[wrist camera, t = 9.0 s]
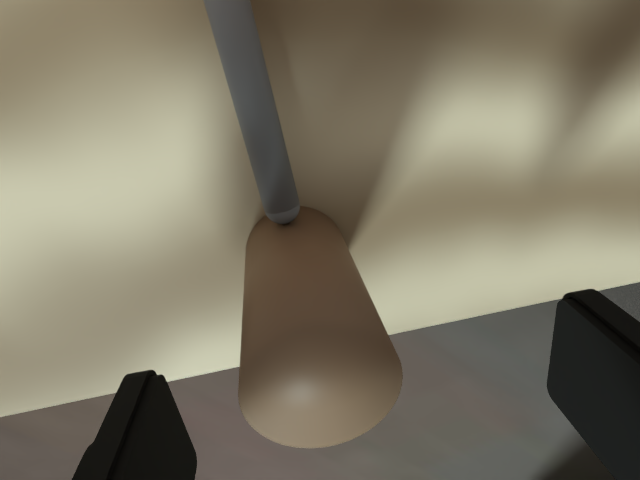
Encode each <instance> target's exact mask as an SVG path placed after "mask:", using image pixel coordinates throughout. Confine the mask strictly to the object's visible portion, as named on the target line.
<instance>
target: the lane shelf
mask: <svg viewBox="0 0 640 480" xmlns="http://www.w3.org/2000/svg"><path fill="white" fill-rule="evenodd" d="M250 2H251V6H252V10H253V14H254V18H255V23H256V27H257V31H258V35H259V39H260V43H261V47H262V51H263V55H264V59H265V63H266V67H267V71H268V76H269V80H270V84H271V88H272V92H273V96H274V100H275V104H276V108H277V112H278V116H279V120H280V124H281V128H282V133H283V137H284V141H285V145H286V149H287V153H288V157H289V161H290V165H291V169H292V173H293V177H294V181H295V186H296V190H297V194H298V198H299V202H300V206H305V207H310V208H313V209H316V210H318V211H320V212H322V213H324V214H325V215H327V216H328V217H329V218H330V219H332V220H333V222H334V223H335V224H336V225H337V227H338V228H339V230H340V232H341V234H342V237H343V239H344V241H345V243H346V245H347V247H348V250H349V252H350V254H351V256H352V258H353V260H354V262H355V265H356V267H357V269H358V271H359V273H360V275H361V278H362V280H363V282H364V284H365V286H366V288H367V290H368V293H369V295H370V297H371V299H372V301H373V303H374V306H375V308H376V310H377V312H378V314H379V316H380V318H381V321H382V323H383V325H384V327H385V329H386V331H387V334H388V335H391V334H395V333H400V332H405V331H410V330H414V329H419V328H424V327H428V326H433V325H438V324H443V323H447V322H452V321H457V320H462V319H466V318H471V317H476V316H481V315H485V314H490V313H495V312H499V311H504V310H509V309H514V308H518V307H523V306H528V305H533V304H537V303H542V302H547V301H551V300H556V299H561V298H563V296H564V295H565V294H566V293H569V292H575V291H580V290H586V289H595V290H596V291H599V290H604V289H608V288H613V287H618V286H622V285H627V284H632V283H637V282H640V0H250ZM265 216H266V214H265V211H264V208H263V204H262V201H261V197H260V194H259V191H258V187H257V184H256V180H255V177H254V173H253V170H252V166H251V163H250V160H249V156H248V153H247V149H246V146H245V142H244V139H243V135H242V132H241V128H240V125H239V122H238V118H237V115H236V111H235V108H234V104H233V101H232V97H231V94H230V90H229V87H228V84H227V80H226V77H225V73H224V70H223V66H222V63H221V59H220V56H219V52H218V49H217V46H216V42H215V39H214V35H213V32H212V28H211V25H210V21H209V18H208V14H207V11H206V8H205V4H204V1H203V0H0V417H3V416H7V415H12V414H17V413H22V412H26V411H31V410H36V409H41V408H45V407H50V406H55V405H60V404H64V403H69V402H74V401H78V400H83V399H88V398H93V397H97V396H102V395H107V394H112V393H116V392H117V390H118V388H119V386H120V384H121V382H122V380H123V378H124V376H125V375H127V374H130V373H135V372H141V371H146V370H154V371H155V372H156V374H157V375H160V374H161V375H163V376H164V377H165V379H166V381H167V382H168V381H173V380H178V379H183V378H187V377H192V376H197V375H201V374H206V373H211V372H216V371H220V370H225V369H230V368H235V367H239V366H240V350H241V331H242V312H243V293H244V273H245V254H246V244H247V240H248V237H249V235H250V233H251V231H252V229H253V228H254V226H255V225H256V224H257V223H258V222H259V221H260V220H261V219H262V218H263V217H265Z"/></svg>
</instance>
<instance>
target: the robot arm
mask: <svg viewBox="0 0 640 480" xmlns="http://www.w3.org/2000/svg"><path fill="white" fill-rule="evenodd" d="M547 389H548V392H549V395H550V397H551V399H552V400H553V401H554V403H555V404H556V405H557V406H558V408H559V409H560V410H561V411H562V413H563V414H564V415H565V416H566V418H567V419H568V420H569V421H570V423H571V424H572V425H573V426H574V428H575V429H576V430H577V432H578V433H579V434H580V435H581V437H582V438H583V439H584V440H585V442H586V443H587V444H588V445H589V447H590V448H591V449H592V450H593V452H594V453H595V454H596V455H597V457H598V458H599V459H600V460H601V462H602V463H603V464H604V465H605V467H606V468H607V469H608V470H609V472H610V473H611V474H612V475H613V477H614V478H615V479H616V480H640V322H639V321H637V320H636V319H635V318H633V317H632V316H631V315H629V314H628V313H627V312H625V311H624V310H623V309H621V308H620V307H618V306H617V305H616V304H614V303H613V302H612V301H610V300H609V299H608V298H606V297H605V296H604V295H602V294H601V293H600V292H598V291H596V290H595V289H586V290H580V291H575V292H569V293H566V294H565V295H564V296H563V299H562V300H561V301H559V302H558V304H557V309H556V317H555V325H554V332H553V340H552V348H551V356H550V364H549V371H548V379H547ZM196 468H197V457H196V452H195V449H194V447H193V444H192V442H191V440H190V437H189V435H188V432H187V430H186V427H185V425H184V423H183V420H182V418H181V415H180V413H179V410H178V408H177V406H176V403H175V401H174V398H173V396H172V393H171V391H170V389H169V386H168V384H167V381H166V379H165V377H164V376H163V375H161V374H160V375H157V374H156V372H155V371H154V370H146V371H141V372H135V373H130V374H127V375H125V376H124V378H123V380H122V382H121V384H120V386H119V388H118V390H117V393H116V395H115V397H114V399H113V401H112V403H111V406H110V408H109V410H108V412H107V414H106V417H105V419H104V421H103V423H102V425H101V427H100V430H99V432H98V434H97V436H96V438H95V440H94V442H93V443H92V444H91V445H90V446H89V447H88V448H87V450H86V451H85V453H84V455H83V457H82V459H81V461H80V463H79V465H78V468H77V470H76V472H75V474H74V476H73V478H72V480H194V479H195V474H196Z"/></svg>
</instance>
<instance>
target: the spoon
mask: <svg viewBox="0 0 640 480" xmlns="http://www.w3.org/2000/svg"><path fill="white" fill-rule="evenodd" d="M203 1H204V4H205V8H206V11H207V14H208V18H209V21H210V25H211V28H212V32H213V35H214V39H215V42H216V46H217V49H218V52H219V56H220V59H221V63H222V66H223V70H224V73H225V77H226V80H227V84H228V87H229V90H230V94H231V97H232V101H233V104H234V108H235V111H236V115H237V118H238V122H239V125H240V128H241V132H242V135H243V139H244V142H245V146H246V149H247V153H248V156H249V160H250V163H251V166H252V170H253V173H254V177H255V180H256V184H257V187H258V191H259V194H260V197H261V201H262V204H263V208H264V211H265V214H266V216H265V217H263V218H262V219H261V220H260V221H259V222H258V223H257V224H256V225H255V226H254V228H253V229H252V231H251V233H250V235H249V237H248V240H247V244H246V254H245V273H244V293H243V312H242V331H241V350H240V369H239V388H238V398H239V405H240V408H241V411H242V413H243V415H244V417H245V419H246V420H247V422H248V423H249V424H250V426H252V427H253V428H254V429H255V430H256V431H257V432H258V433H260V434H261V435H262V436H264V437H266V438H268V439H269V440H271V441H274V442H276V443H279V444H282V445H286V446H290V447H297V448H321V447H328V446H333V445H337V444H340V443H344V442H347V441H349V440H351V439H354V438H356V437H358V436H360V435H362V434H364V433H365V432H367V431H368V430H370V429H371V428H373V427H374V426H375V425H377V424H378V423H379V422H380V421H381V420H382V419H383V418H384V417H385V416H386V415H387V414H388V413H389V411H390V410H391V409H392V407H393V405H394V404H395V402H396V400H397V398H398V396H399V393H400V390H401V386H402V378H403V375H402V367H401V363H400V360H399V357H398V355H397V353H396V351H395V349H394V346H393V344H392V342H391V340H390V338H389V336H388V334H387V331H386V329H385V327H384V325H383V323H382V321H381V318H380V316H379V314H378V312H377V310H376V308H375V306H374V303H373V301H372V299H371V297H370V295H369V293H368V290H367V288H366V286H365V284H364V282H363V280H362V278H361V275H360V273H359V271H358V269H357V267H356V265H355V262H354V260H353V258H352V256H351V254H350V252H349V250H348V247H347V245H346V243H345V241H344V239H343V237H342V234H341V232H340V230H339V228H338V227H337V225H336V224H335V223H334V222H333V220H332V219H330V218H329V217H328V216H327V215H325V214H324V213H322V212H320V211H318V210H316V209H313V208H310V207H305V206H300V202H299V198H298V194H297V190H296V186H295V181H294V177H293V173H292V169H291V165H290V161H289V157H288V153H287V149H286V145H285V141H284V137H283V133H282V128H281V124H280V120H279V116H278V112H277V108H276V104H275V100H274V96H273V92H272V88H271V84H270V80H269V76H268V71H267V67H266V63H265V59H264V55H263V51H262V47H261V43H260V39H259V35H258V31H257V27H256V23H255V18H254V14H253V10H252V6H251V2H250V0H203Z"/></svg>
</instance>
